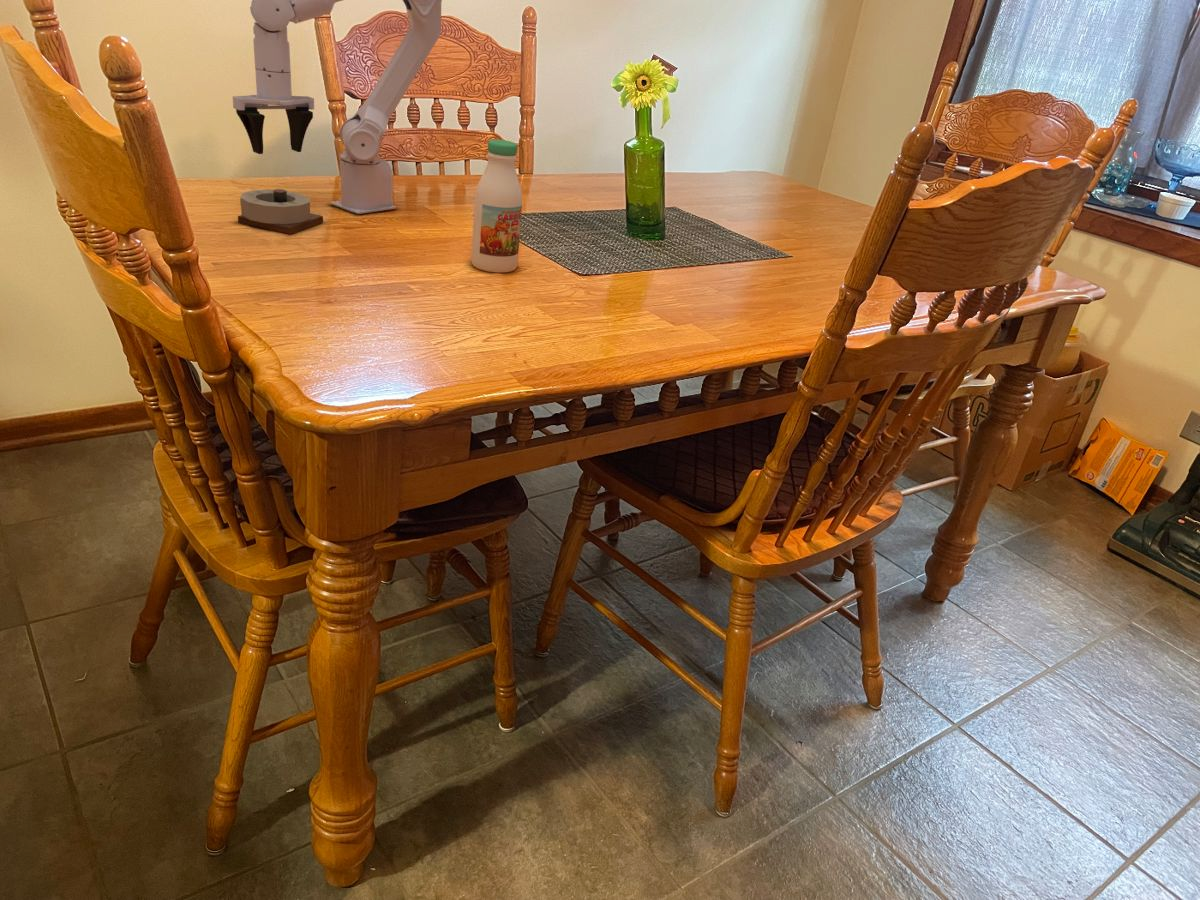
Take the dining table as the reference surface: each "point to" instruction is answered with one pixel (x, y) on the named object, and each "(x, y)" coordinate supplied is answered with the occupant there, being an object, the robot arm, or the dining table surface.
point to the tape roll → (275, 207)
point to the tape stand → (281, 197)
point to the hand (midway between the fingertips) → (277, 151)
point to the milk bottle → (497, 211)
